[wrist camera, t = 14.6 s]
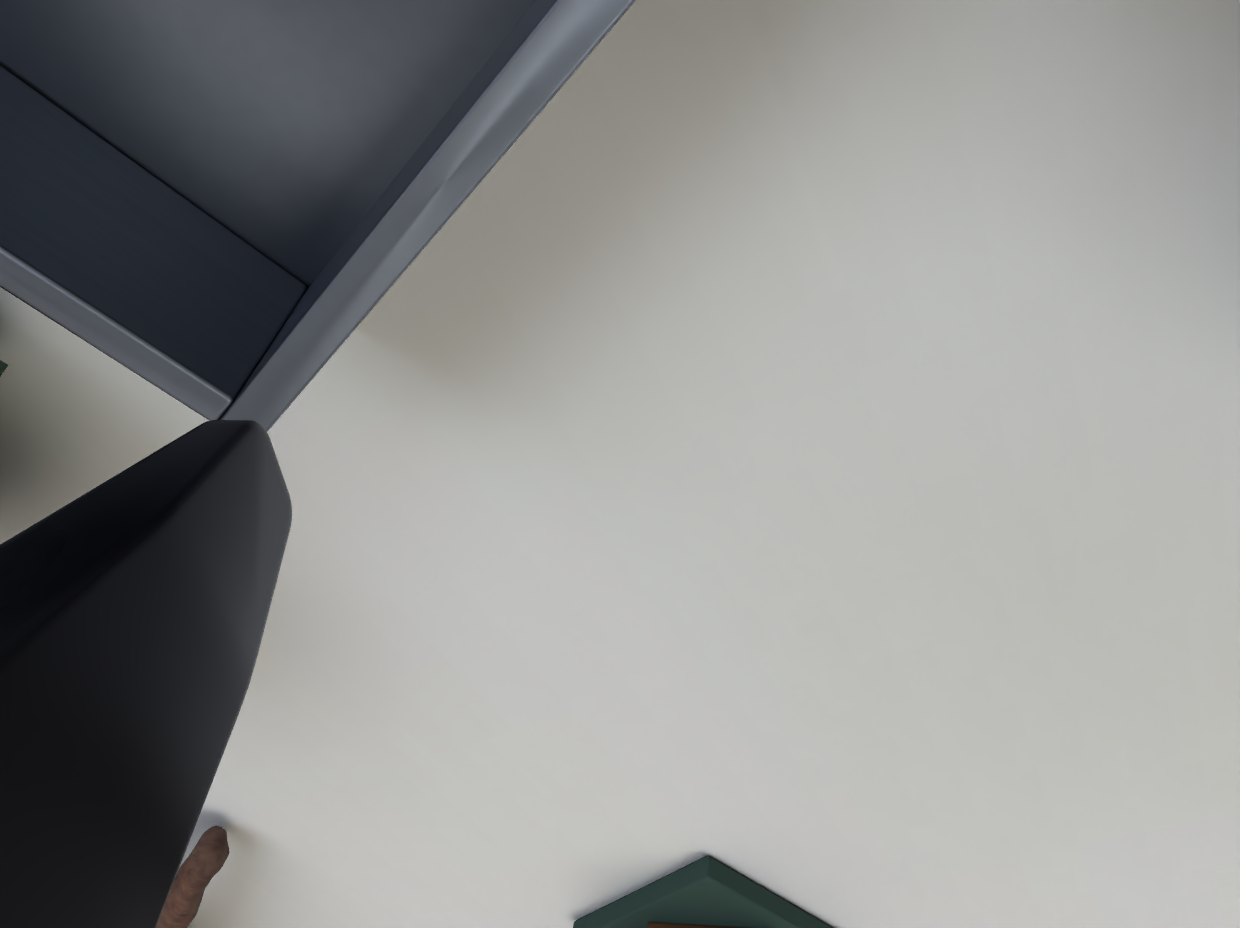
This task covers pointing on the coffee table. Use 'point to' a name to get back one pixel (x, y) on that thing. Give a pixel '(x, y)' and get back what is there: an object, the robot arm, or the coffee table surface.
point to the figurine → (194, 879)
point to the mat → (701, 903)
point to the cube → (682, 926)
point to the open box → (253, 167)
